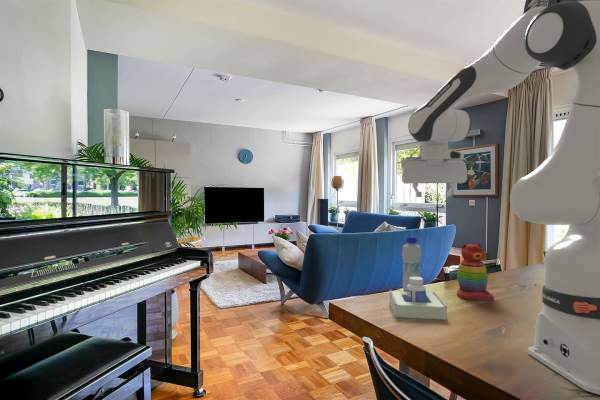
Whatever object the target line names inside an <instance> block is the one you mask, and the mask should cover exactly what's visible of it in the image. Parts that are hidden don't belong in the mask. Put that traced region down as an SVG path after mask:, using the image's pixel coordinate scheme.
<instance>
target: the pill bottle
mask: <svg viewBox="0 0 600 400" xmlns="http://www.w3.org/2000/svg"><path fill="white" fill-rule="evenodd" d="M409 283H410V284H408V285H407V302H420V303H426V293H427V289H426V288H427V287H426V286H425V285H424V278H423V277H409Z"/></svg>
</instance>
